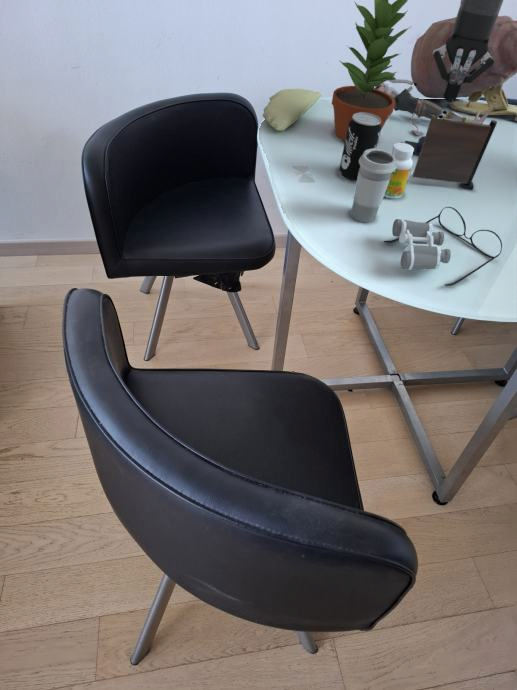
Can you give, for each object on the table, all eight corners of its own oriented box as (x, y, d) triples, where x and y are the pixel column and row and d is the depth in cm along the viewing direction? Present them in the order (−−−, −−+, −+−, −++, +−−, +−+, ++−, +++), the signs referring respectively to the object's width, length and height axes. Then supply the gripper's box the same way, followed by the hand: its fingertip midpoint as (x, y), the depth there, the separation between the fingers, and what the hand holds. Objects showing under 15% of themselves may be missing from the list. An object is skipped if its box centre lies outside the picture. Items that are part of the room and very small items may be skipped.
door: (467, 183, 104) (491, 127, 95) (413, 177, 104) (432, 119, 95) (466, 181, 105) (490, 124, 96) (412, 174, 105) (431, 117, 96)
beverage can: (364, 185, 103) (379, 128, 94) (335, 177, 104) (346, 120, 95) (371, 172, 107) (386, 116, 98) (342, 164, 108) (354, 108, 100)
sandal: (529, 134, 128) (544, 101, 122) (446, 107, 137) (457, 75, 131) (542, 122, 136) (557, 91, 130) (463, 97, 145) (474, 67, 139)
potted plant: (356, 155, 112) (393, -2, 90) (314, 129, 120) (338, -21, 98) (400, 142, 119) (444, -7, 97) (357, 118, 126) (389, -24, 105)
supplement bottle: (375, 195, 100) (388, 149, 93) (378, 183, 104) (391, 138, 97) (401, 201, 99) (416, 155, 92) (403, 189, 103) (418, 144, 96)
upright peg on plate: (471, 185, 107) (499, 120, 97) (472, 190, 105) (501, 124, 95) (460, 183, 107) (487, 118, 97) (461, 188, 105) (488, 122, 95)
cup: (348, 202, 97) (363, 144, 88) (381, 210, 96) (399, 151, 88) (343, 221, 92) (358, 161, 84) (378, 229, 92) (396, 169, 83)
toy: (495, 82, 122) (375, 66, 124) (489, 140, 119) (367, 123, 121) (480, 105, 131) (369, 90, 133) (474, 160, 128) (360, 144, 130)
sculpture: (550, -4, 114) (503, 29, 142) (428, 0, 116) (406, 32, 144) (534, 89, 120) (492, 103, 148) (419, 90, 123) (399, 104, 151)
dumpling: (320, 103, 132) (287, 91, 134) (324, 86, 129) (290, 74, 131) (280, 139, 116) (243, 126, 118) (284, 121, 112) (245, 107, 114)
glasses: (443, 200, 91) (436, 222, 95) (384, 233, 86) (380, 254, 90) (508, 239, 83) (498, 261, 87) (448, 277, 78) (440, 299, 82)
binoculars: (391, 229, 88) (396, 212, 86) (434, 232, 89) (441, 215, 86) (402, 273, 81) (408, 256, 78) (450, 276, 81) (458, 259, 78)
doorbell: (453, 150, 118) (457, 140, 116) (455, 162, 114) (459, 152, 112) (404, 142, 119) (407, 132, 117) (404, 154, 115) (407, 143, 113)
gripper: (446, 8, 93) (418, 102, 106) (517, 17, 92) (480, 112, 105) (444, -1, 99) (418, 90, 111) (511, 8, 97) (477, 99, 110)
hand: (448, 100), depth 108 cm, fingers closed
